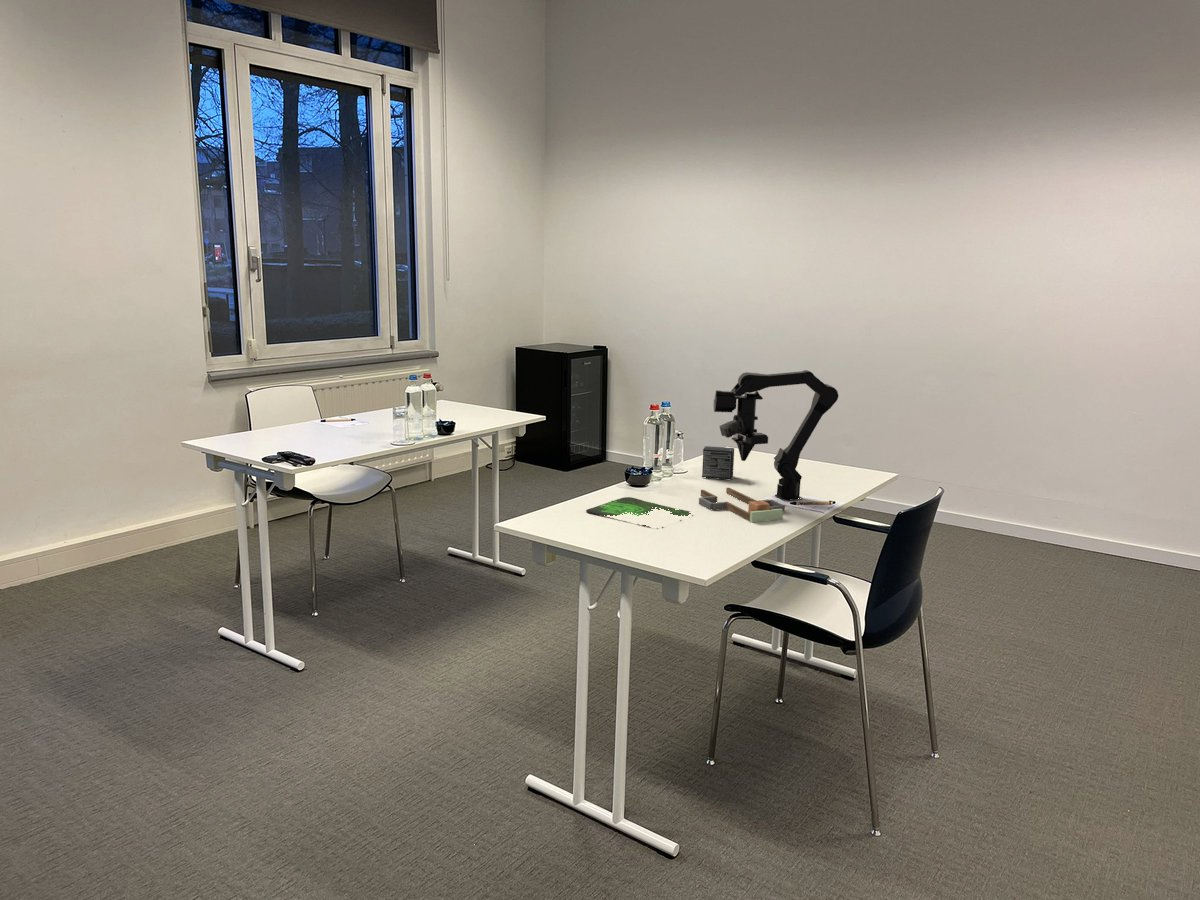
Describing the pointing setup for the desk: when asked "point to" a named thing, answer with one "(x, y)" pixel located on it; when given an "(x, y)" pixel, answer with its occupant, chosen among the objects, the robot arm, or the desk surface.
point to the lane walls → (730, 506)
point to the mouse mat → (631, 508)
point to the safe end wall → (766, 515)
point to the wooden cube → (758, 506)
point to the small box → (718, 462)
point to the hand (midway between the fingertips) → (743, 460)
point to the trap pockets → (710, 503)
